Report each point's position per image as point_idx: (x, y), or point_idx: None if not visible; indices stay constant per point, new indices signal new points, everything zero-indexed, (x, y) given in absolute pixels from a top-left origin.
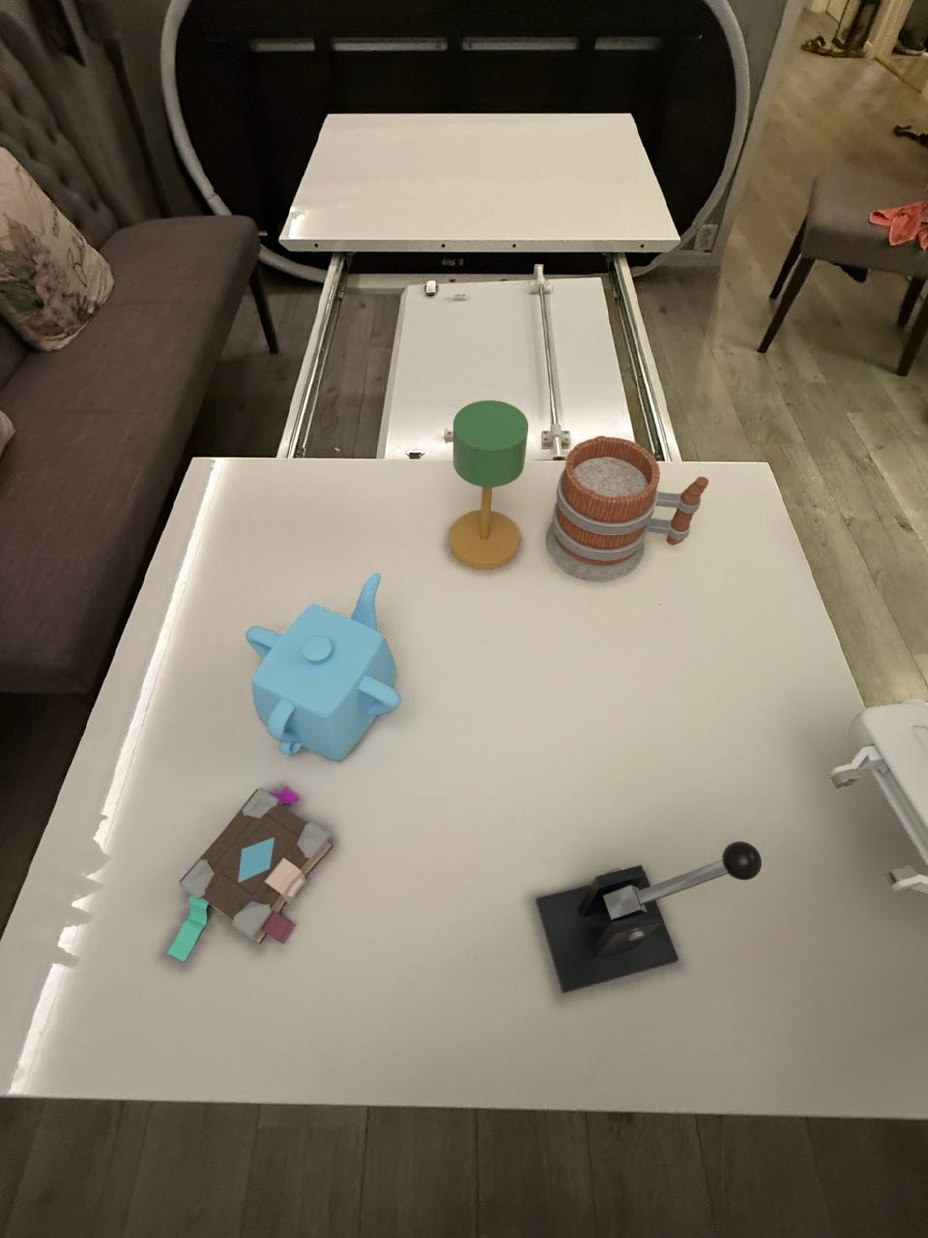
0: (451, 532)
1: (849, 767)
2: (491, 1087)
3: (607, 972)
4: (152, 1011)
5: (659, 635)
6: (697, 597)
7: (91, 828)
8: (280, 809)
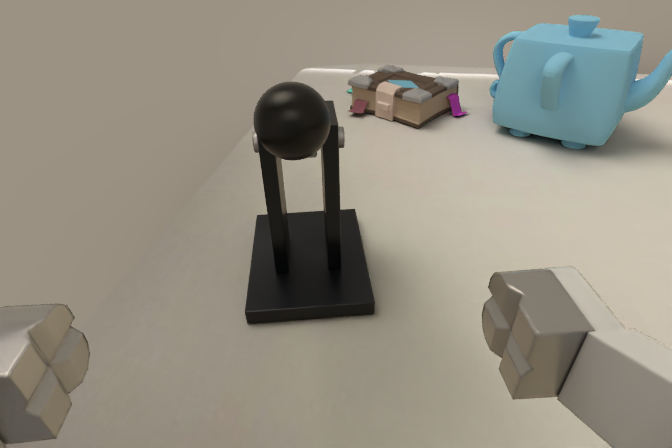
0: None
1: (589, 305)
2: (210, 182)
3: (260, 246)
4: (322, 88)
5: None
6: None
7: (430, 71)
8: (441, 87)
